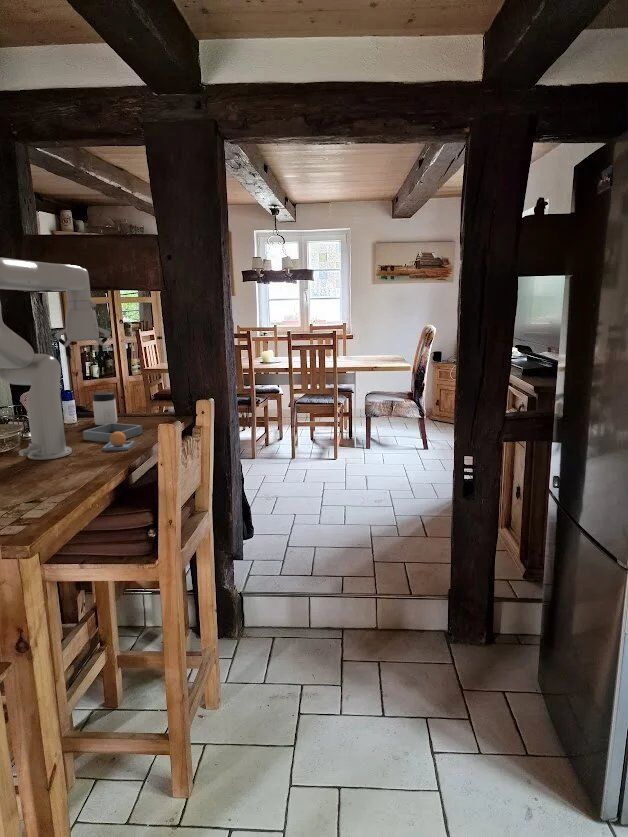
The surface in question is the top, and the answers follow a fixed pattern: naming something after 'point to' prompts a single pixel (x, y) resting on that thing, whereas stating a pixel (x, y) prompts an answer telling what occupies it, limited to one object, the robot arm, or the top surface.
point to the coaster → (110, 447)
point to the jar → (104, 408)
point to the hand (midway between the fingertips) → (85, 357)
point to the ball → (117, 439)
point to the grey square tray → (103, 431)
